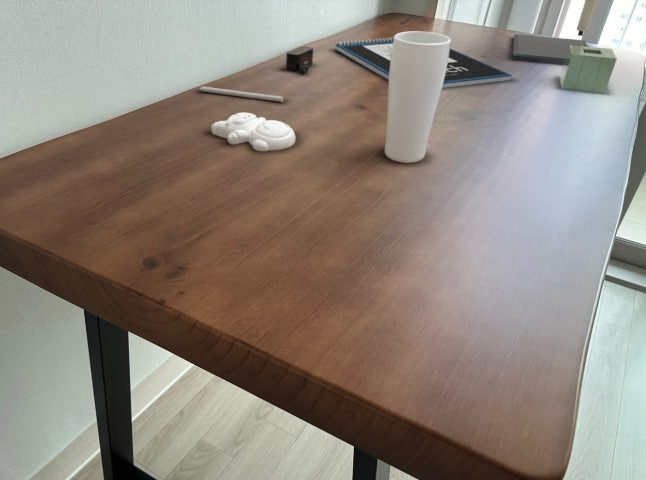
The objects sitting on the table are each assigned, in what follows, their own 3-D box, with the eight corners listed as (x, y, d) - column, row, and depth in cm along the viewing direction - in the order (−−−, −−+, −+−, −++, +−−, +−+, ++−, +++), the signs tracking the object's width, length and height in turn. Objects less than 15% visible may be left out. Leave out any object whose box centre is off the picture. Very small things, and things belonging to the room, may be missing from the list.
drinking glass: (378, 145, 80) (392, 29, 71) (427, 148, 79) (448, 32, 70) (378, 165, 74) (394, 42, 65) (432, 168, 73) (455, 45, 65)
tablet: (583, 45, 129) (585, 39, 128) (592, 68, 113) (594, 62, 112) (513, 39, 132) (514, 33, 132) (512, 60, 117) (513, 54, 116)
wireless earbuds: (282, 71, 108) (282, 53, 106) (301, 63, 113) (301, 46, 111) (304, 76, 106) (304, 57, 104) (322, 67, 111) (323, 49, 109)
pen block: (600, 83, 105) (611, 48, 102) (604, 94, 100) (616, 58, 96) (559, 78, 107) (569, 44, 104) (561, 89, 102) (571, 54, 98)
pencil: (200, 86, 97) (283, 97, 93) (199, 91, 97) (282, 102, 93) (197, 85, 96) (282, 95, 92) (196, 90, 97) (280, 101, 92)
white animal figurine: (242, 119, 87) (242, 99, 85) (307, 139, 81) (308, 118, 79) (202, 136, 81) (201, 115, 79) (268, 158, 75) (268, 136, 73)
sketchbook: (409, 94, 99) (411, 82, 98) (332, 51, 121) (333, 41, 120) (510, 81, 105) (513, 69, 104) (419, 42, 128) (421, 33, 127)
